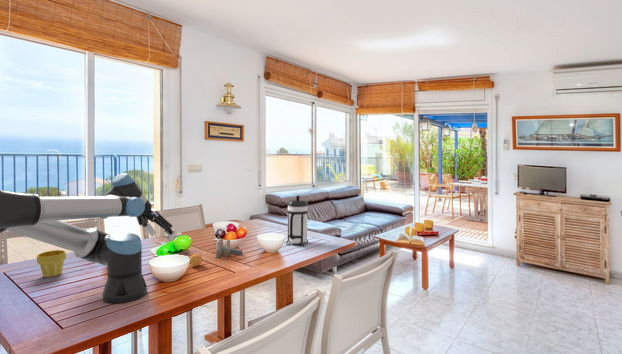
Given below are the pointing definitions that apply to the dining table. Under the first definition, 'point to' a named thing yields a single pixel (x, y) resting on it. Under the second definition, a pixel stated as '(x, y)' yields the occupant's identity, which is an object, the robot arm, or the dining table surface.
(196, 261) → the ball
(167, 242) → the teacup with lid
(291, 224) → the coffee press
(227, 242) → the back pin right
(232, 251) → the back wall
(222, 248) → the back pin left
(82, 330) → the dining table surface
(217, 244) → the front pin
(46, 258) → the plant pot
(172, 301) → the dining table surface
